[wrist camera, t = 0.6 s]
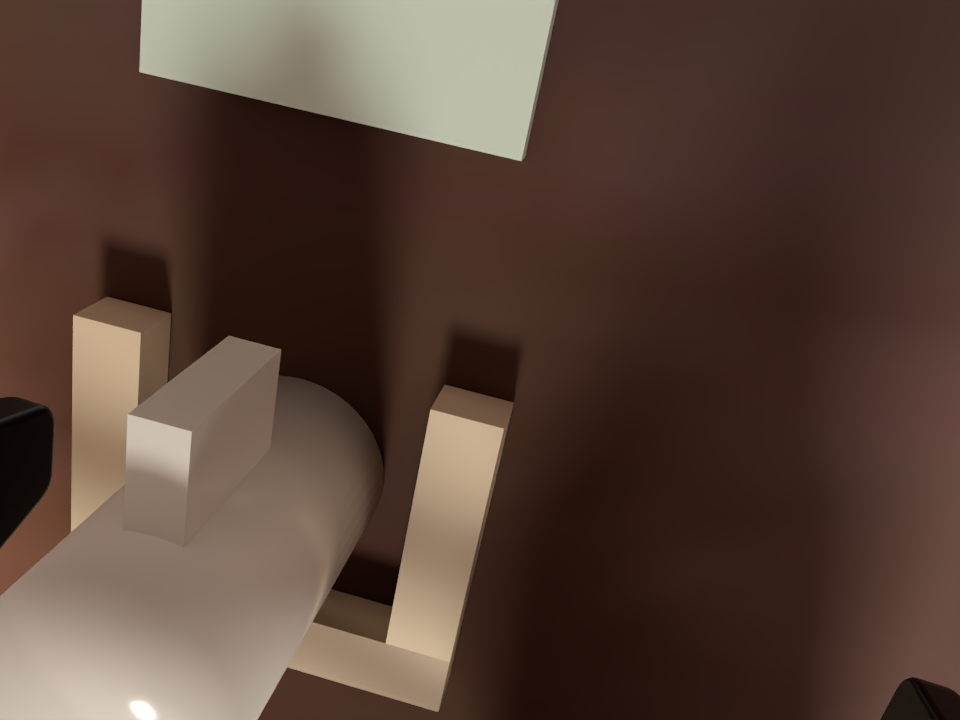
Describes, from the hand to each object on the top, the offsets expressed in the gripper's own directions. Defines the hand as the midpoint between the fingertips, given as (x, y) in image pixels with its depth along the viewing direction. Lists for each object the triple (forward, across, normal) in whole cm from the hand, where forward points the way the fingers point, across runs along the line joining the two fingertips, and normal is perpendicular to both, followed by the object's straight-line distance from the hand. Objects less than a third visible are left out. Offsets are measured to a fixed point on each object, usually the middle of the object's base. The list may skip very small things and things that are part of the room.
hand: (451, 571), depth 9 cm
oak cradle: (+13, +6, +8) cm, 16 cm away
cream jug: (+13, +6, +6) cm, 16 cm away
